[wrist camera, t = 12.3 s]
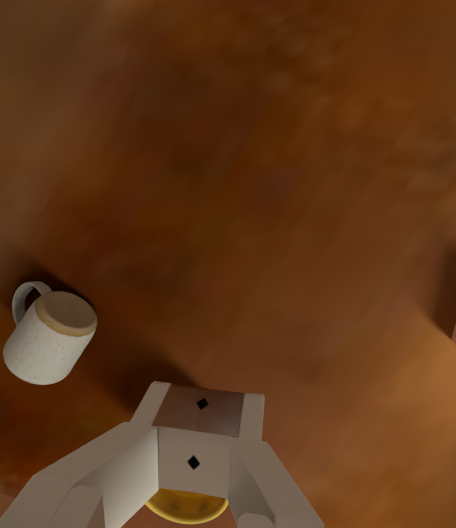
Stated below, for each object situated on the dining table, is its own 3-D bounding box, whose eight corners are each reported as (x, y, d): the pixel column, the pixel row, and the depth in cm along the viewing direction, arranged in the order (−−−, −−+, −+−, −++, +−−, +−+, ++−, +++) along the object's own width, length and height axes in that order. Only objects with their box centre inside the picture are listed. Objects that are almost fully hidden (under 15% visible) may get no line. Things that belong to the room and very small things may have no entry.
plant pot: (169, 375, 45) (140, 434, 36) (250, 399, 45) (242, 466, 35) (155, 438, 49) (125, 507, 39) (230, 461, 48) (218, 537, 39)
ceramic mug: (112, 313, 43) (77, 346, 36) (82, 359, 46) (44, 399, 39) (37, 261, 43) (-13, 284, 36) (11, 311, 46) (-41, 342, 38)
